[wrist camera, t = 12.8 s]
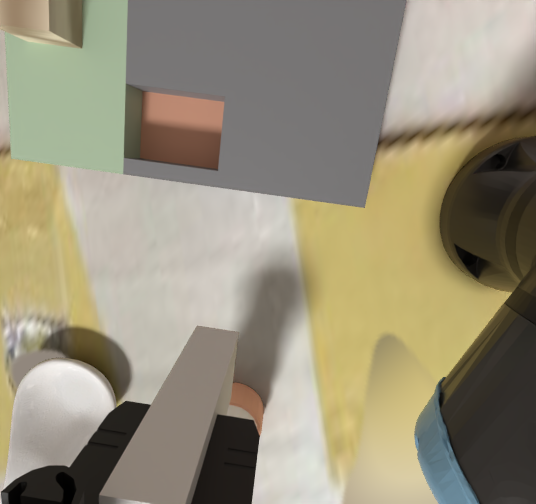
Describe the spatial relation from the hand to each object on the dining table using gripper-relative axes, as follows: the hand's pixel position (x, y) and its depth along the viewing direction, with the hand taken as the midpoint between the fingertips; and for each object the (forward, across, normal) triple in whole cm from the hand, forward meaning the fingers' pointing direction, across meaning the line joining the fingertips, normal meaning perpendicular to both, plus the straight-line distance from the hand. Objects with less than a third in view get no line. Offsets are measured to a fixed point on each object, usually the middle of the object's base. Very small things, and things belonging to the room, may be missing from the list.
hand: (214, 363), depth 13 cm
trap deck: (+26, +8, -17) cm, 32 cm away
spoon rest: (+27, +22, +29) cm, 46 cm away
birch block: (+22, +20, -17) cm, 35 cm away
